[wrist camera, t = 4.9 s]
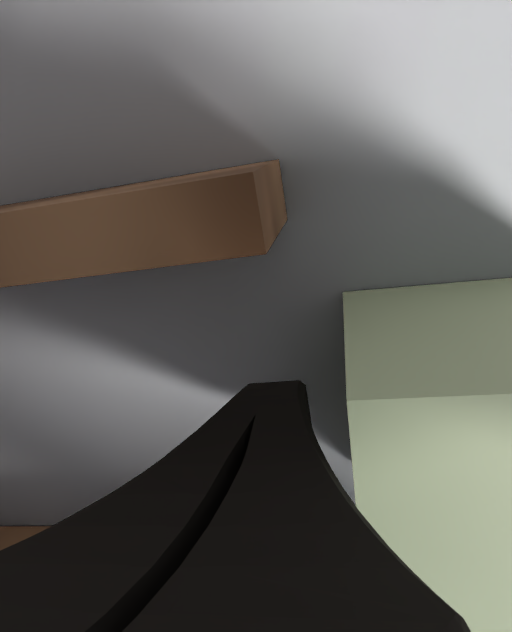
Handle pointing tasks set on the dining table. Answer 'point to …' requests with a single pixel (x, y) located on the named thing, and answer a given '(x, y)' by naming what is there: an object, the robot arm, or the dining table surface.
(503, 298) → the cube
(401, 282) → the dining table surface
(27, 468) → the dining table surface
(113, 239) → the frame
